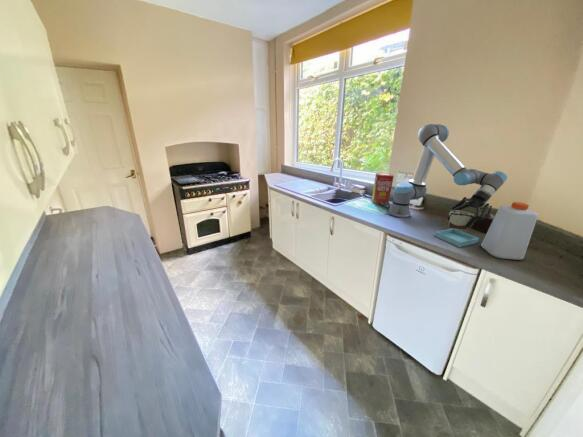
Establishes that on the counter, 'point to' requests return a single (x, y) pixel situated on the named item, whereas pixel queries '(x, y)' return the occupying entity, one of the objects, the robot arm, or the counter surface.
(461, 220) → the food container
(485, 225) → the pepper mill
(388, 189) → the food packaging
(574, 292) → the counter surface
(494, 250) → the plastic bottle
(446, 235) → the tray
